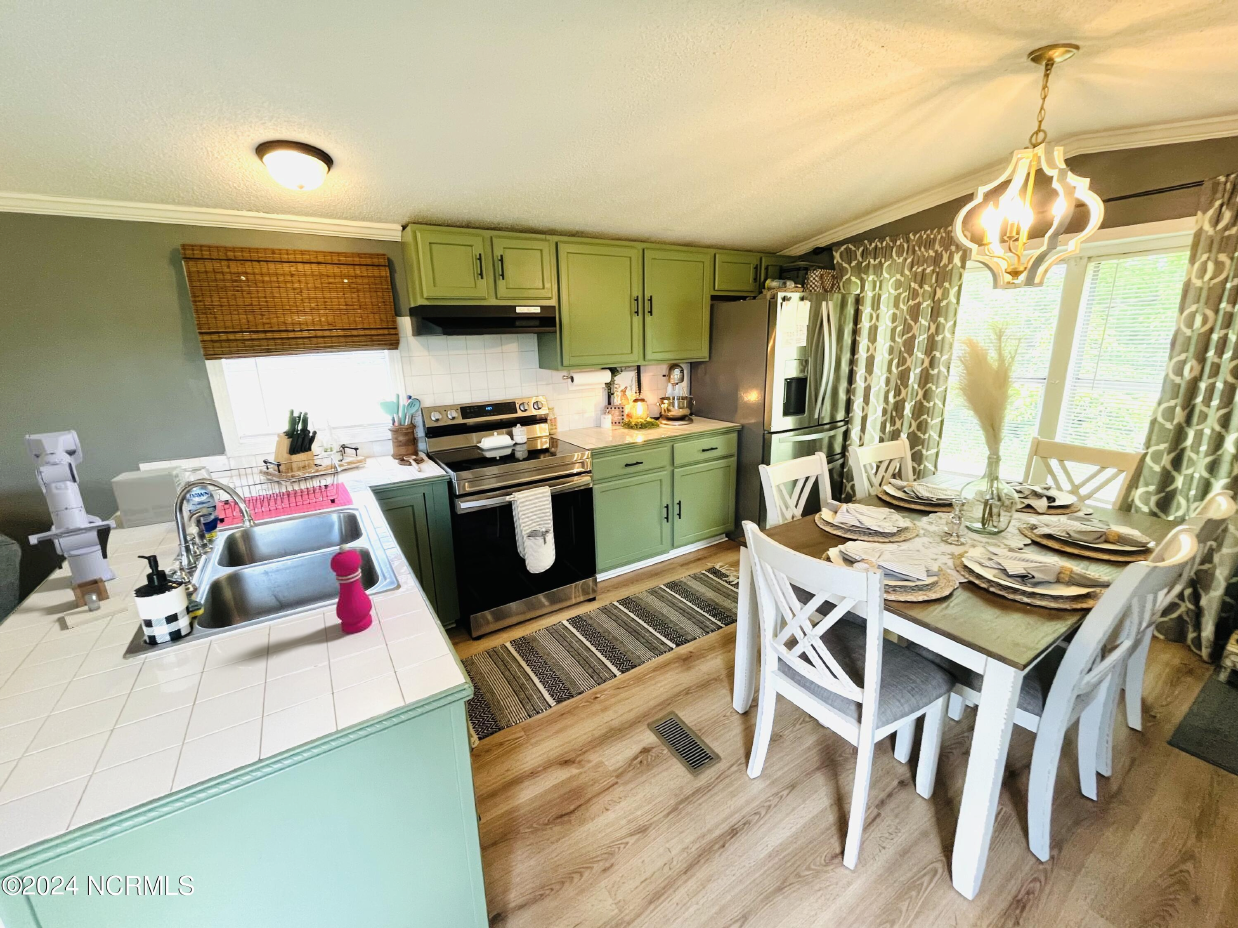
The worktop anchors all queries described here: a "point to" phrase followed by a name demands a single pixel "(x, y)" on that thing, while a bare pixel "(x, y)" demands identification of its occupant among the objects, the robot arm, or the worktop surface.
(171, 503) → the supplement box
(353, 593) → the pepper mill
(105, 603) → the base plate
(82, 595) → the walnut collar
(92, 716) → the worktop surface
